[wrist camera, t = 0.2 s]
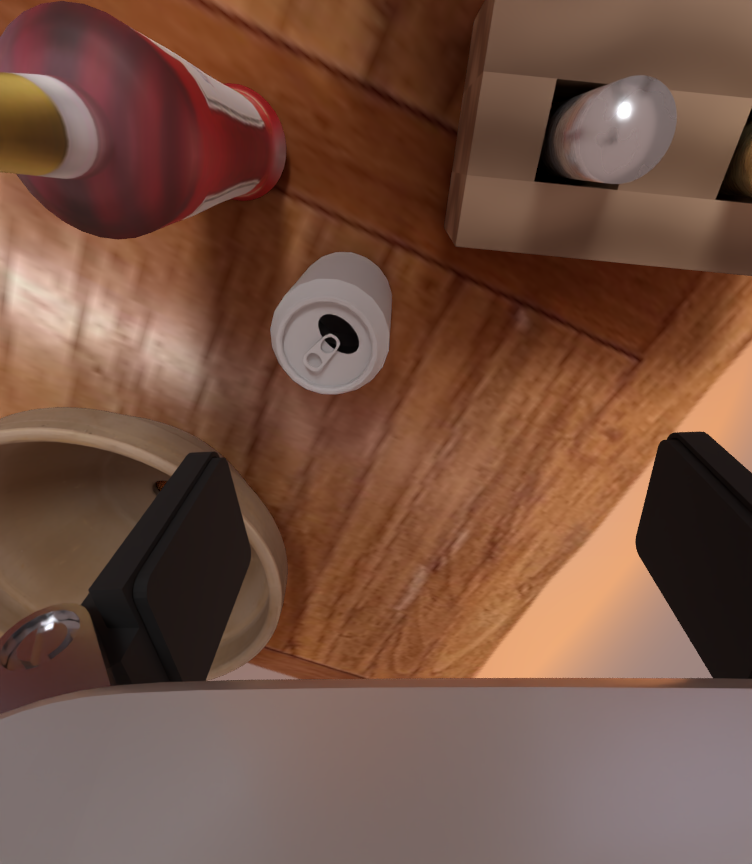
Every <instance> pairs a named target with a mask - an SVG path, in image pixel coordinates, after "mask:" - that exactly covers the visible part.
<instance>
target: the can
mask: <svg viewBox="0 0 752 864" xmlns="http://www.w3.org/2000/svg"><path fill="white" fill-rule="evenodd" d="M391 311H392V293H391V290H390V286H389V283H388V280H387V278H386V277H385V275H384V274H383V273H382V271H381V270H380V268H379V267H378V266H377V265H375V264H374V263H373V262H372V261H370V260H369V259H368V258H366V257H363V256H361V255H358V254H355V253H352V252H335V253H332V254H329V255H326V256H323V257H321V258H320V259H319V260H317V261H316V262H315V263H313V264H312V265H311V266H310V267H309V268H308V269H307V270H306V271H305V273H304V274H303V275H302V276H301V277H300V278H299V280H298V281H297V282H296V283H295V284H294V285H293V286H292V288H291V289H290V290H289V291H288V292H287V293H286V295H285V296H284V297H283V299H282V300H281V302H280V303H279V305H278V307H277V308H276V310H275V311H274V315H273V320H272V324H271V328H270V332H271V341H272V348H273V351H274V353H275V355H276V357H277V360H278V362H279V364H280V365H281V367H282V368H283V369H284V371H285V372H286V373H287V374H288V375H289V376H290V378H291V379H292V380H293V381H294V382H296V383H297V384H299V385H300V386H302V387H303V388H305V389H307V390H310V391H313V392H316V393H319V394H335V395H337V394H342V393H346V392H349V391H353V390H357V389H359V388H360V387H362V386H363V385H365V384H367V383H368V382H370V381H371V380H372V379H373V378H374V377H375V376H376V374H377V373H378V372H379V371H380V369H381V368H382V367H383V365H384V362H385V359H386V357H387V354H388V351H389V341H390V326H391Z"/></svg>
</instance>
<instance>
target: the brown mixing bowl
mask: <svg viewBox="0 0 752 864" xmlns="http://www.w3.org/2000/svg"><path fill="white" fill-rule="evenodd" d="M214 451H215V452H217V451H216V450H215V449H213V448H212V447H211V446H209V445H208V444H207V443H205V442H203V441H202V440H200V439H198V438H197V437H195V436H193V435H191V434H189V433H187V432H185V431H183V430H181V429H178V428H176V427H173V426H170V425H167V424H164V423H161V422H157V421H153V420H150V419H145V418H139V417H134V416H128V415H122V414H117V413H113V412H108V411H102V410H95V409H86V408H68V407H55V408H43V409H35V410H29V411H24V412H20V413H16V414H12V415H9V416H6V417H4V418H1V419H0V638H1V637H2V636H3V635H4V634H5V632H6V631H7V630H8V629H10V628H11V627H12V626H14V625H15V624H16V623H18V622H19V621H20V620H21V619H23V618H25V617H27V616H29V615H30V614H32V613H34V612H36V611H38V610H41V609H43V608H46V607H49V606H51V605H57V604H62V603H75V604H79V605H81V603H82V602H83V601H84V599H85V598H86V597H87V595H88V594H89V591H88V589H89V588H90V587H91V585H92V584H93V582H94V581H95V580H96V578H97V577H98V576H99V574H100V573H101V572H102V570H103V569H104V567H105V566H106V565H107V563H108V562H109V561H110V559H111V558H112V557H113V555H114V554H115V552H116V551H117V550H118V548H119V547H120V546H121V544H122V543H123V542H124V540H125V539H126V537H127V536H128V535H129V533H130V532H131V531H132V529H133V528H134V527H135V525H136V524H137V522H138V521H139V520H140V518H141V517H142V516H143V514H144V513H145V512H146V510H147V509H148V507H149V506H150V505H151V503H152V502H153V501H154V499H155V498H156V497H157V495H158V494H159V492H160V491H159V490H158V489H157V487H156V482H157V481H168V480H169V479H170V477H171V476H172V475H173V473H174V472H175V471H176V469H177V468H178V466H179V465H180V464H181V462H182V461H183V460H184V458H185V457H186V456H187V455H188V454H189V453H191V452H214ZM217 453H218V452H217ZM218 455H219V456H220V458H223V456H222V455H221V454H220V453H218ZM227 462H228V461H227ZM228 464H229V468H230V472H231V476H232V479H233V483H234V487H235V491H236V494H237V498H238V502H239V506H240V509H241V513H242V517H243V521H244V524H245V528H246V532H247V536H248V539H249V543H250V547H251V561H250V565H249V567H248V570H247V573H246V575H245V578H244V580H243V583H242V586H241V588H240V591H239V594H238V596H237V599H236V602H235V604H234V607H233V610H232V612H231V615H230V618H229V620H228V623H227V625H226V628H225V631H224V633H223V636H222V639H221V641H220V644H219V647H218V649H217V652H216V655H215V657H214V660H213V663H212V665H211V668H210V671H209V673H208V676H207V678H206V681H207V680H211V679H215V678H217V677H220V676H223V675H225V674H227V673H229V672H231V671H234V670H235V669H237V668H239V667H241V666H242V665H244V664H245V663H247V662H248V661H250V660H251V659H252V658H253V657H255V656H256V655H257V654H258V653H259V652H260V651H261V650H262V649H263V648H264V647H265V645H266V644H267V643H268V642H269V640H270V638H271V637H272V635H273V633H274V631H275V629H276V627H277V624H278V620H279V617H280V613H281V610H282V606H283V602H284V596H285V590H286V584H287V575H288V564H287V556H286V550H285V546H284V542H283V539H282V536H281V533H280V531H279V529H278V527H277V525H276V523H275V521H274V519H273V517H272V516H271V514H270V512H269V511H268V509H267V508H266V506H265V505H264V503H263V502H262V501H261V499H260V498H259V497H258V495H257V494H256V493H255V492H254V491H253V490H252V489H251V488H250V487H249V485H248V484H247V483H246V481H245V480H244V479H243V478H242V476H241V475H240V474H239V473H238V471H237V470H236V469H235V468H234V467H233V466H232V465H231V464H230V463H229V462H228Z"/></svg>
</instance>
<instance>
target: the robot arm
mask: <svg viewBox="0 0 752 864" xmlns="http://www.w3.org/2000/svg"><path fill="white" fill-rule="evenodd" d="M636 549H637V552H638V554H639V556H640V558H641V560H642V561H643V563H644V565H645V566H646V568H647V570H648V571H649V573H650V575H651V576H652V578H653V580H654V581H655V583H656V585H657V586H658V588H659V589H660V591H661V593H662V594H663V596H664V598H665V599H666V601H667V603H668V604H669V606H670V608H671V609H672V611H673V613H674V614H675V616H676V617H677V619H678V621H679V622H680V624H681V626H682V628H683V629H684V631H685V632H686V634H687V636H688V637H689V639H690V641H691V642H692V644H693V646H694V647H695V649H696V651H697V652H698V654H699V656H700V657H701V659H702V661H703V662H704V664H705V666H706V667H707V668H708V670H709V672H710V674H711V675H712V677H713V678H430V679H298V680H230V681H229V680H227V681H206V678H207V676H208V673H209V671H210V668H211V665H212V663H213V660H214V657H215V655H216V652H217V649H218V647H219V644H220V641H221V639H222V636H223V633H224V631H225V628H226V625H227V623H228V620H229V618H230V615H231V612H232V610H233V607H234V604H235V602H236V599H237V596H238V594H239V591H240V588H241V586H242V583H243V580H244V578H245V575H246V573H247V570H248V567H249V565H250V561H251V547H250V543H249V539H248V536H247V532H246V528H245V524H244V521H243V517H242V513H241V509H240V506H239V502H238V498H237V494H236V491H235V487H234V483H233V479H232V476H231V472H230V468H229V464H228V462H227V460H226V458H224V457H223V458H220V456H219V455H218V453H217V452H215V451H214V452H191V453H189V454H188V455H187V456H186V457H185V458H184V460H183V461H182V462H181V464H180V465H179V466H178V468H177V469H176V471H175V472H174V473H173V475H172V476H171V477H170V479H169V480H168V481H167V483H166V484H165V486H164V487H163V488H162V490H161V491H160V492H159V494H158V495H157V497H156V498H155V499H154V501H153V502H152V503H151V505H150V506H149V507H148V509H147V510H146V512H145V513H144V514H143V516H142V517H141V518H140V520H139V521H138V522H137V524H136V525H135V527H134V528H133V529H132V531H131V532H130V533H129V535H128V536H127V537H126V539H125V540H124V542H123V543H122V544H121V546H120V547H119V548H118V550H117V551H116V552H115V554H114V555H113V557H112V558H111V559H110V561H109V562H108V563H107V565H106V566H105V567H104V569H103V570H102V572H101V573H100V574H99V576H98V577H97V578H96V580H95V581H94V582H93V584H92V585H91V587H90V588H89V589H88V591H89V594H88V595H87V597H86V598H85V599H84V601H83V602H82V603H81V605H79V604H75V603H62V604H57V605H51V606H49V607H46V608H43V609H41V610H38V611H36V612H34V613H32V614H30V615H29V616H27V617H25V618H23V619H21V620H20V621H19V622H18V623H16V624H15V625H14V626H12V627H11V628H10V629H8V630H7V631H6V632H5V634H4V635H3V636H2V637H1V638H0V864H752V473H751V472H750V471H749V470H748V469H746V468H745V467H744V466H743V465H742V464H741V463H740V462H738V461H737V460H736V459H735V458H734V457H733V456H732V455H731V454H729V453H728V452H727V451H726V450H725V449H724V448H723V447H722V446H720V445H719V444H718V443H717V442H716V441H715V440H714V439H712V438H711V437H710V436H709V435H708V434H706V433H705V432H679V433H672V434H670V435H669V437H668V438H667V440H663V441H661V442H660V444H659V446H658V450H657V454H656V458H655V462H654V466H653V470H652V474H651V478H650V482H649V486H648V490H647V495H646V498H645V503H644V507H643V511H642V515H641V519H640V523H639V527H638V531H637V535H636Z"/></svg>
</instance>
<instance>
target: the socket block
mask: <svg viewBox="0 0 752 864" xmlns="http://www.w3.org/2000/svg"><path fill="white" fill-rule="evenodd" d="M637 75H645V76H650V77H653V78H656V79H657V80H659V81H661V82H662V83H663V84H664V85H666V87H667V88H668V89H669V90H670V92H671V94H672V96H673V98H674V101H675V105H676V110H677V123H676V129H675V133H674V136H673V139H672V142H671V144H670V146H669V148H668V150H667V152H666V153H665V155H664V156H663V158H662V159H661V160H660V161H659V163H658V164H657V165H656V166H655V167H654V168H653V169H651V170H650V171H649V172H648V173H646V174H645V175H643V176H642V177H640V178H638V179H636V180H634V181H631V182H627V183H623V184H609V183H600V182H592V181H583V180H574V179H569V181H568V183H561V182H551V181H541V180H535V175H536V171H537V166H538V162H539V157H540V153H541V148H542V144H543V139H544V135H545V130H546V126H547V121H548V117H549V112H550V108H551V103H552V102H557V103H559V102H561V101H564V100H566V99H569V98H572V97H574V96H577V95H580V94H583V93H585V92H588V91H591V90H594V89H596V88H599V87H602V86H605V85H607V84H610V83H613V82H616V81H618V80H621V79H624V78H627V77H630V76H637ZM748 116H752V0H485V1H484V3H483V5H482V7H481V8H480V10H479V12H478V14H477V16H476V18H475V20H474V23H473V30H472V37H471V44H470V51H469V58H468V65H467V72H466V78H465V85H464V92H463V99H462V106H461V113H460V120H459V126H458V133H457V140H456V147H455V154H454V161H453V168H452V174H451V181H450V188H449V195H448V202H447V209H446V216H445V223H444V229H445V230H446V232H447V234H448V235H449V237H450V238H451V240H452V242H453V243H454V245H455V246H457V247H467V248H477V249H487V250H497V251H507V252H517V253H527V254H537V255H547V256H557V257H567V258H577V259H587V260H597V261H607V262H617V263H627V264H637V265H647V266H657V267H667V268H677V269H687V270H697V271H707V272H717V273H727V274H737V275H747V276H752V197H744V196H735V195H726V194H719V193H718V191H719V189H720V186H721V184H722V181H723V179H724V176H725V174H726V171H727V169H728V166H729V164H730V161H731V159H732V156H733V154H734V151H735V149H736V146H737V143H738V141H739V138H740V136H741V133H742V131H743V128H744V126H745V123H746V121H747V118H748Z"/></svg>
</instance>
